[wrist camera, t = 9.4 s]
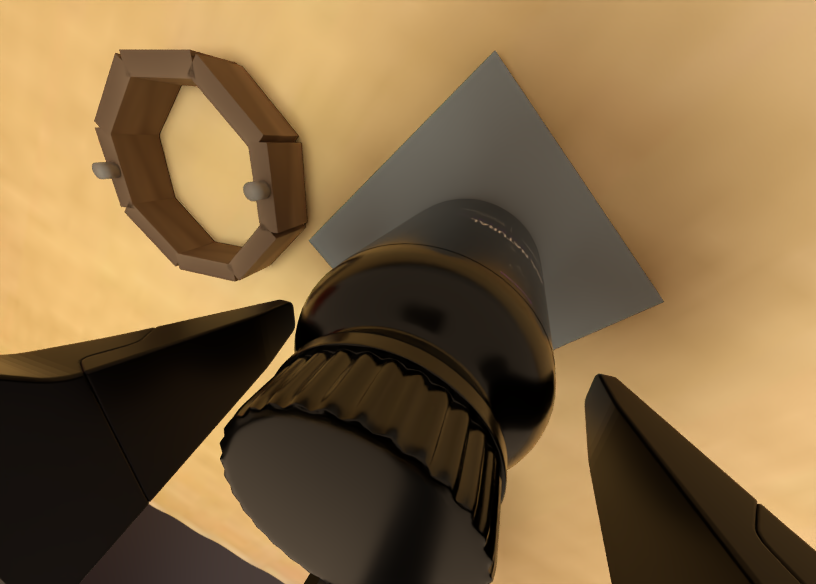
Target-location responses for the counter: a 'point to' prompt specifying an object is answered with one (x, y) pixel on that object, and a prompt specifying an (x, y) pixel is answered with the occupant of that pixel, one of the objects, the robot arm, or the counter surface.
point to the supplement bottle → (403, 404)
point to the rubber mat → (503, 201)
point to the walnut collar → (148, 175)
